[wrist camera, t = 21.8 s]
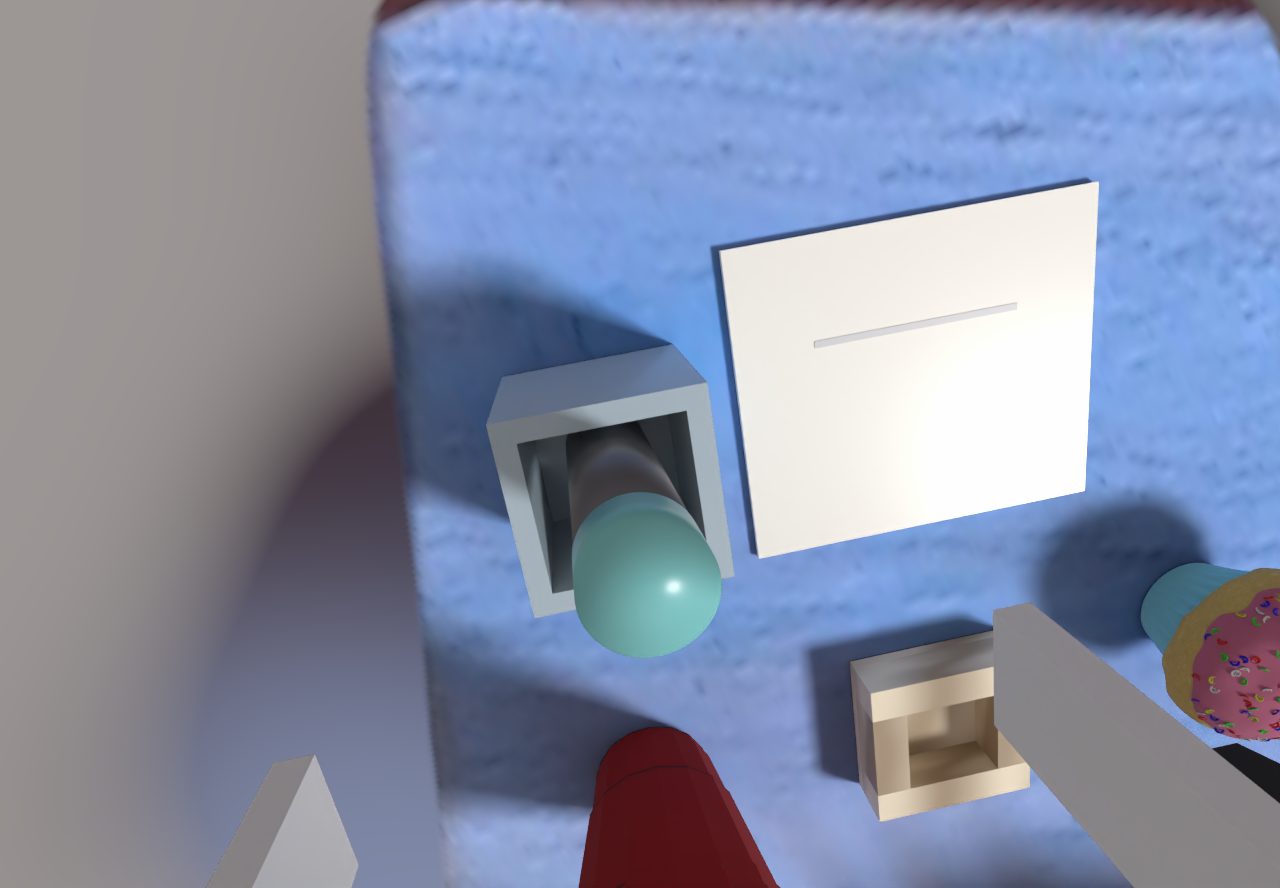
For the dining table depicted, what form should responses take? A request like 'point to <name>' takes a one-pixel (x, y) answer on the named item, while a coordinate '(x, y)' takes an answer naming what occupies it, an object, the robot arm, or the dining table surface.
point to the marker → (635, 547)
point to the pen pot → (587, 399)
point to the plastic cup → (667, 820)
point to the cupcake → (1220, 646)
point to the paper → (913, 366)
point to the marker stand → (931, 728)
